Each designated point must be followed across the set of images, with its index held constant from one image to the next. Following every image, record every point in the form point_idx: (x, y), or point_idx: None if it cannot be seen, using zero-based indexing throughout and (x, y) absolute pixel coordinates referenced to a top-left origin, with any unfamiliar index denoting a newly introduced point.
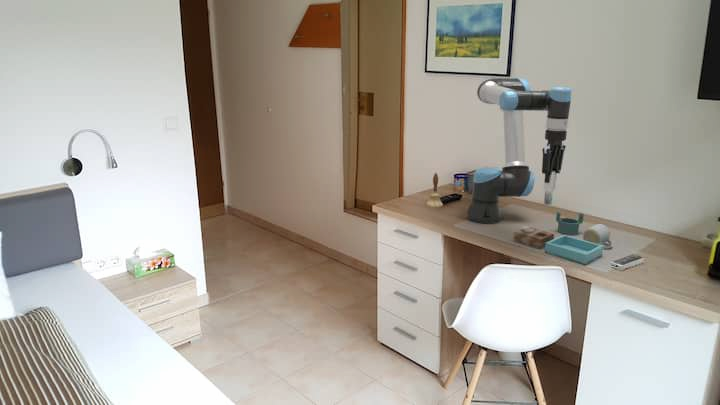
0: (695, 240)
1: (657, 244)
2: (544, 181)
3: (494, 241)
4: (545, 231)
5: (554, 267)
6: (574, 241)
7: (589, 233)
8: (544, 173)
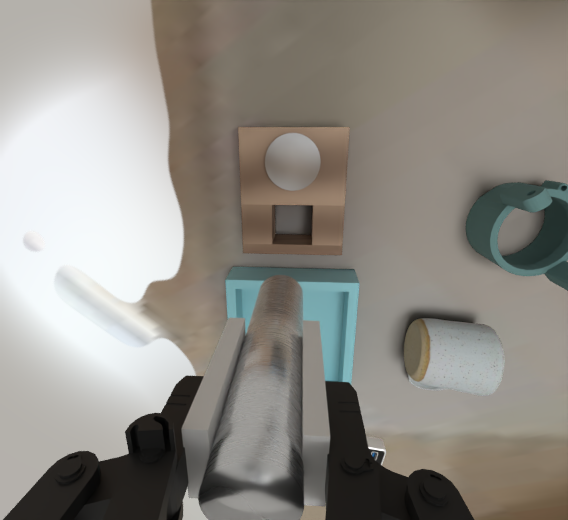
0: None
1: (561, 451)
2: (210, 364)
3: (177, 78)
4: (342, 218)
5: (154, 336)
6: (345, 321)
7: (418, 351)
8: (112, 459)
